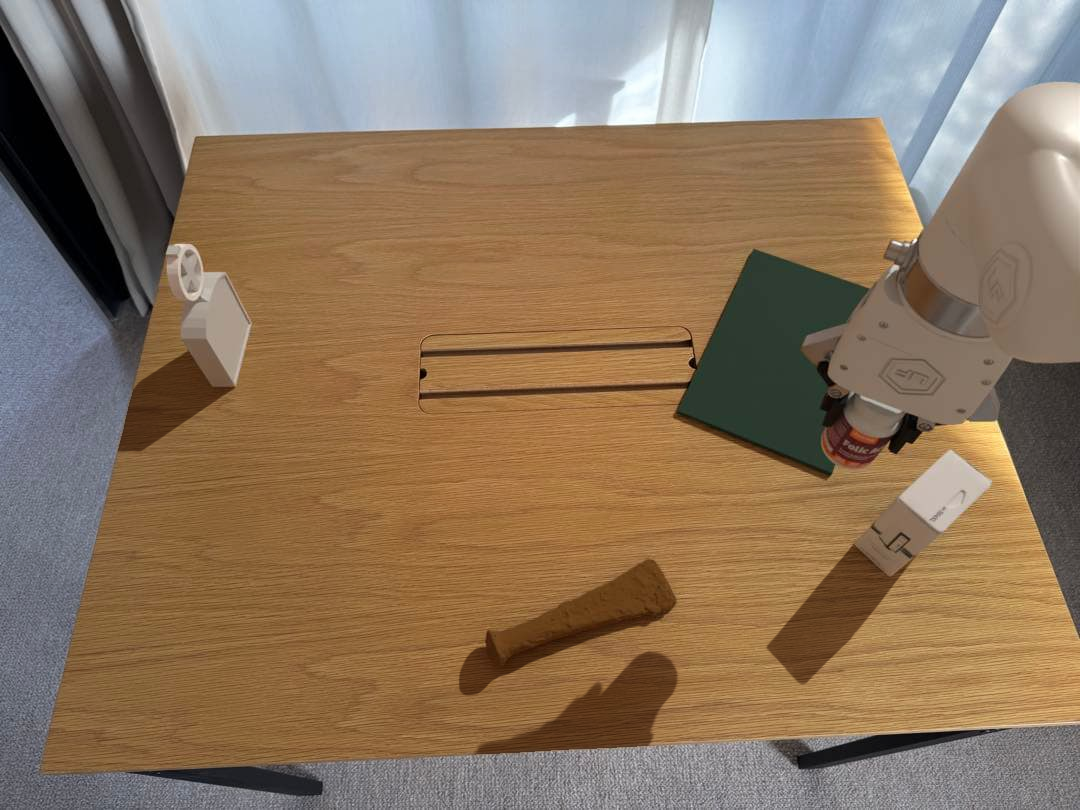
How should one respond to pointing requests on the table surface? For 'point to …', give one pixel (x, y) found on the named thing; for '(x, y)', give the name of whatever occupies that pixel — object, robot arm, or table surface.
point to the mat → (771, 359)
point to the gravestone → (208, 316)
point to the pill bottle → (860, 432)
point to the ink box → (923, 512)
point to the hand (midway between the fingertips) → (863, 425)
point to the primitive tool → (588, 611)
